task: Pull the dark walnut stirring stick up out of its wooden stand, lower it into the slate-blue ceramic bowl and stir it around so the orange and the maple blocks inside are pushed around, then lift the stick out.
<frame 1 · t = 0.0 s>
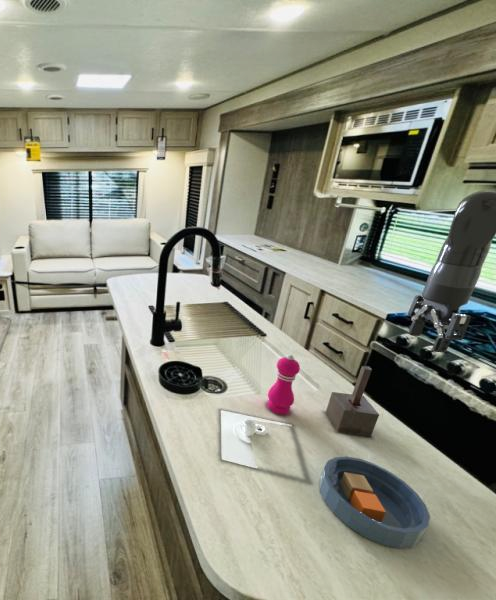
hand: (425, 342, 78), 30 cm above the counter, tool pointing down, fingers open, 8 cm apart
bowl: (365, 507, 70), on the counter
stir stick: (356, 397, 90), in the stick stand
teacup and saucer: (258, 441, 88), on the counter
block a: (364, 513, 68), point 1 cm above the counter, touching bowl
stick stand: (346, 424, 93), on the counter
pepper mill: (277, 408, 101), on the counter
block b: (353, 493, 72), point 1 cm above the counter, touching bowl
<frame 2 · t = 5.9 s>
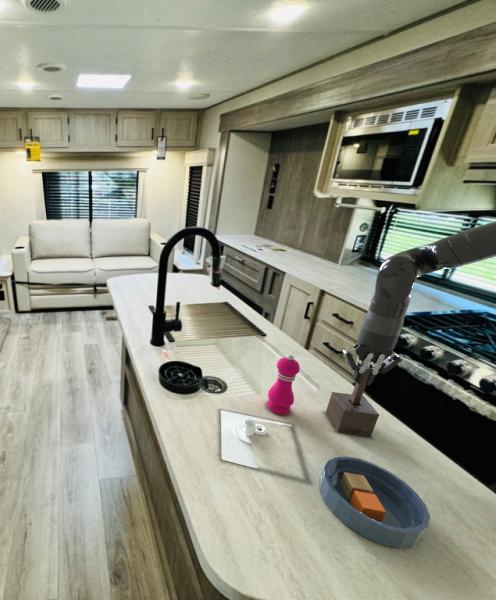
hand: (361, 382, 88), 15 cm above the counter, tool pointing down, fingers closed on stir stick, 1 cm apart
stir stick: (356, 397, 90), in the stick stand, touching gripper
everything else where it was.
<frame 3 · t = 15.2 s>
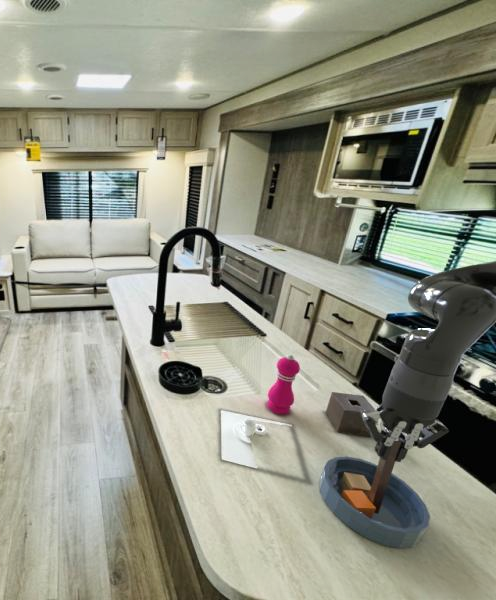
hand: (387, 457, 62), 17 cm above the counter, tool pointing down, fingers closed on stir stick, 1 cm apart
stir stick: (382, 475, 64), point 12 cm above the counter, touching block a, gripper
block a: (354, 511, 69), point 1 cm above the counter, touching bowl, stir stick
everything else where it was.
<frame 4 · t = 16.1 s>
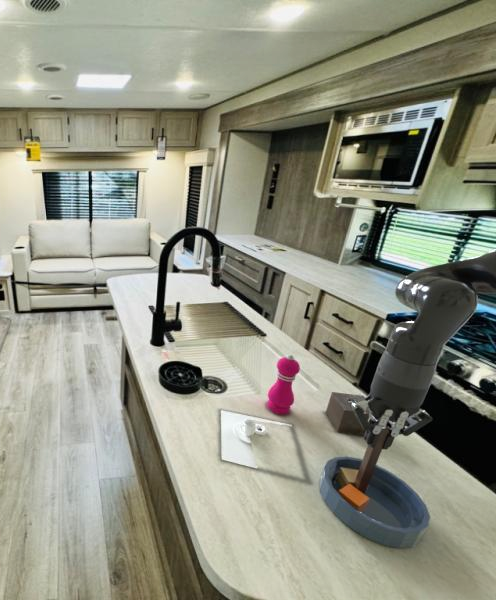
hand: (375, 445, 66), 17 cm above the counter, tool pointing down, fingers closed on stir stick, 1 cm apart
stir stick: (368, 462, 67), point 12 cm above the counter, touching block b, gripper
block a: (349, 506, 70), point 1 cm above the counter, touching bowl
block b: (349, 488, 74), point 1 cm above the counter, touching bowl, stir stick
everything else where it was.
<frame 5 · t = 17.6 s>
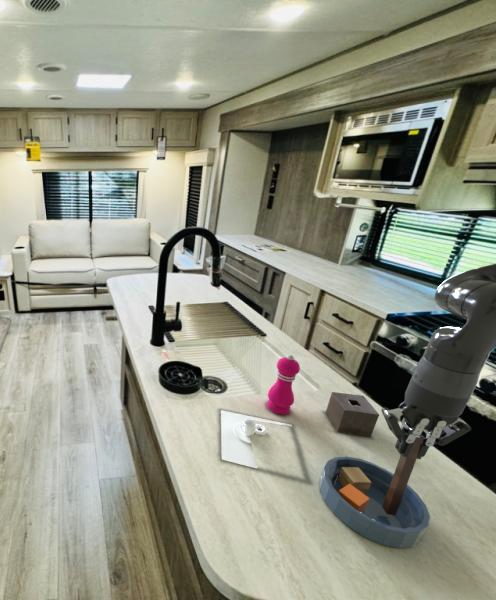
hand: (408, 454, 63), 17 cm above the counter, tool pointing down, fingers closed on stir stick, 1 cm apart
stir stick: (402, 474, 64), in the bowl, point 12 cm above the counter, touching gripper
block b: (351, 486, 74), point 1 cm above the counter, touching bowl
everything else where it was.
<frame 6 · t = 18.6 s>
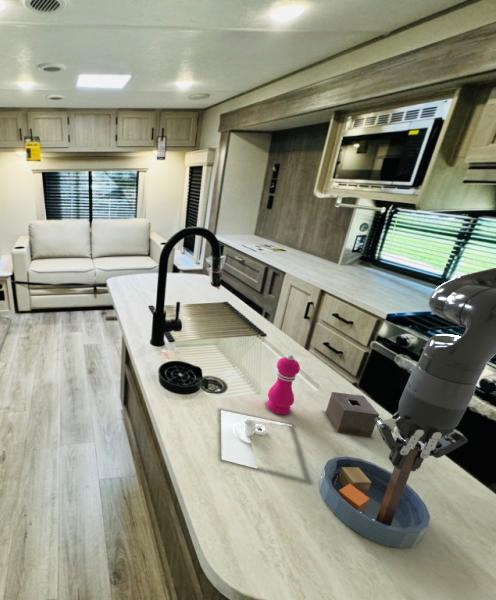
hand: (402, 466, 60), 17 cm above the counter, tool pointing down, fingers closed on stir stick, 1 cm apart
stir stick: (395, 487, 62), in the bowl, point 12 cm above the counter, touching gripper
everything else where it was.
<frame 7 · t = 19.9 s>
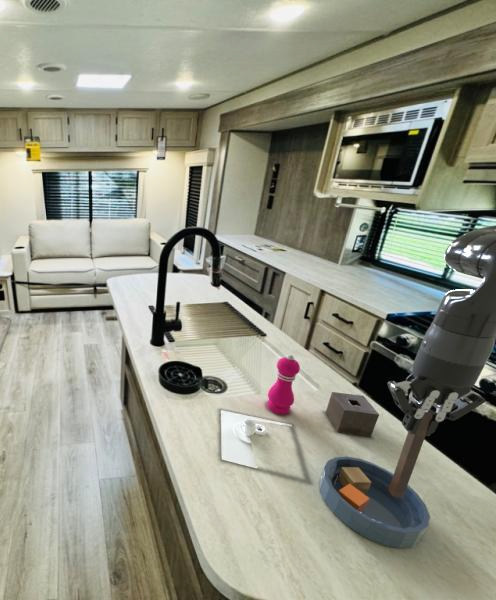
hand: (416, 431, 59), 25 cm above the counter, tool pointing down, fingers closed on stir stick
stir stick: (409, 454, 60), point 20 cm above the counter, touching gripper
everything else where it was.
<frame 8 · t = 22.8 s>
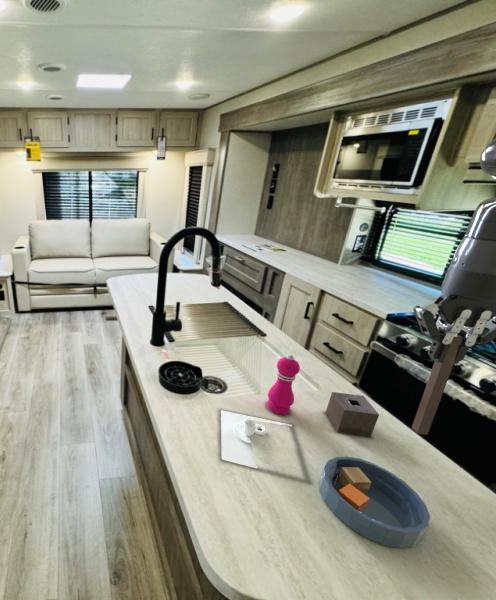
hand: (443, 360, 55), 39 cm above the counter, tool pointing down, fingers closed on stir stick
stir stick: (435, 385, 57), point 34 cm above the counter, touching gripper
everything else where it was.
at the end: block a moved 2.6 cm from its start; block a inside the target area in the bowl (4.3 cm from its centre), point 0.8 cm above the bowl's base; block b inside the target area in the bowl (4.3 cm from its centre), point 0.8 cm above the bowl's base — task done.
